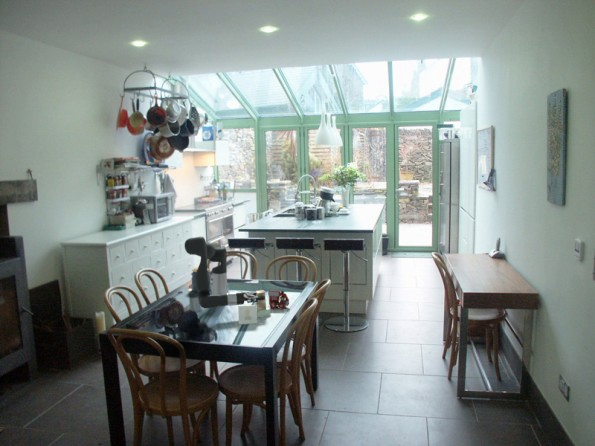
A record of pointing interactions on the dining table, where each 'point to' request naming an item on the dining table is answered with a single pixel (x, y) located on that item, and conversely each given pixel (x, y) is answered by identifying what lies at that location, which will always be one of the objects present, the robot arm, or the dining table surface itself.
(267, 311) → the base brick
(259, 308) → the column
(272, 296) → the toy fire truck
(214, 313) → the dining table surface
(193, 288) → the canister
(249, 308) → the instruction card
